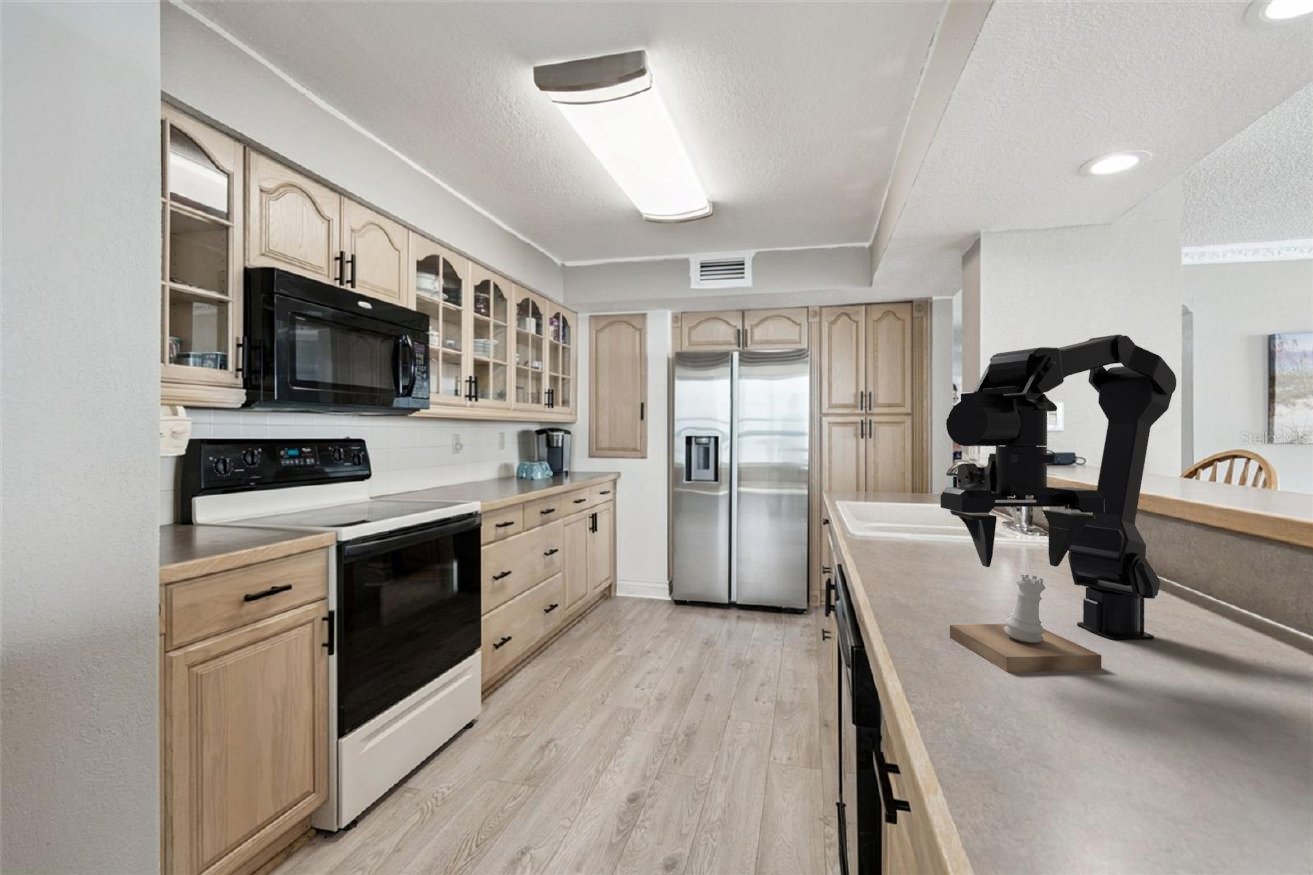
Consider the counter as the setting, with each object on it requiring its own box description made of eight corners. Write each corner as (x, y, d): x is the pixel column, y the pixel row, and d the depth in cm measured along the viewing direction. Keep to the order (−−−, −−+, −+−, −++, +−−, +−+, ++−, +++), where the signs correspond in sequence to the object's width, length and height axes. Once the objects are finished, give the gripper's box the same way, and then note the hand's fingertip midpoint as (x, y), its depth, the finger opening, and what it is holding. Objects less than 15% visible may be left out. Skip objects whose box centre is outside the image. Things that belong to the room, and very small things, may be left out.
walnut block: (1031, 641, 83) (1031, 623, 83) (1101, 675, 71) (1101, 655, 71) (949, 642, 82) (949, 624, 82) (1006, 677, 71) (1006, 657, 70)
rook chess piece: (1035, 633, 78) (1044, 574, 78) (1048, 647, 74) (1058, 586, 73) (998, 627, 80) (1006, 569, 79) (1009, 640, 75) (1018, 580, 74)
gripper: (1045, 445, 85) (1044, 553, 85) (919, 445, 84) (919, 554, 84) (1108, 447, 74) (1108, 571, 74) (965, 446, 73) (964, 572, 73)
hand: (1020, 566), depth 77 cm, fingers open, 9 cm apart
